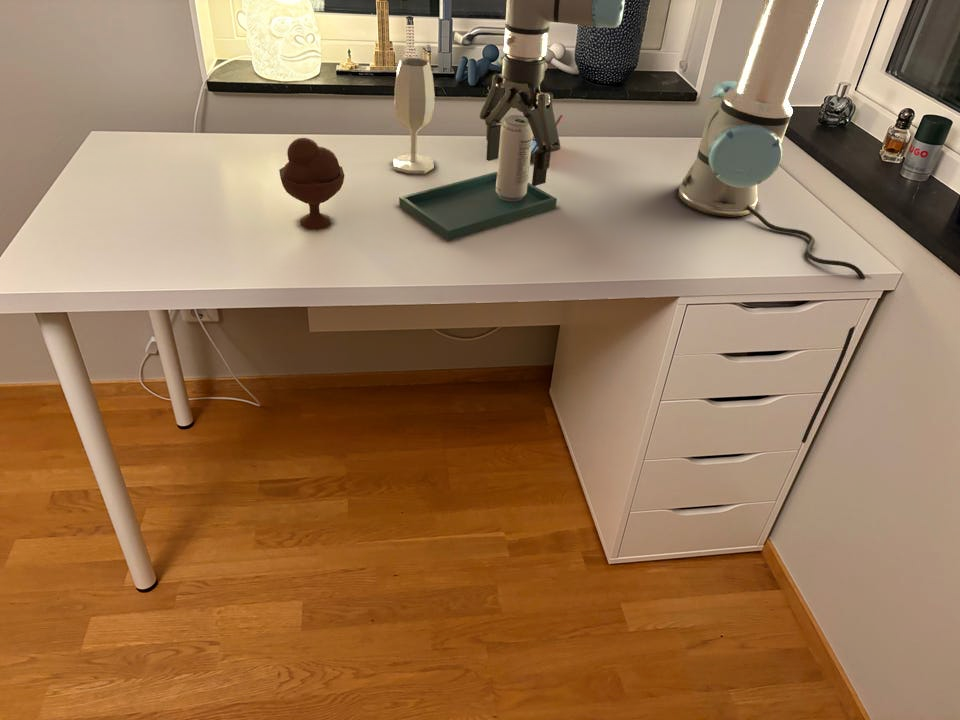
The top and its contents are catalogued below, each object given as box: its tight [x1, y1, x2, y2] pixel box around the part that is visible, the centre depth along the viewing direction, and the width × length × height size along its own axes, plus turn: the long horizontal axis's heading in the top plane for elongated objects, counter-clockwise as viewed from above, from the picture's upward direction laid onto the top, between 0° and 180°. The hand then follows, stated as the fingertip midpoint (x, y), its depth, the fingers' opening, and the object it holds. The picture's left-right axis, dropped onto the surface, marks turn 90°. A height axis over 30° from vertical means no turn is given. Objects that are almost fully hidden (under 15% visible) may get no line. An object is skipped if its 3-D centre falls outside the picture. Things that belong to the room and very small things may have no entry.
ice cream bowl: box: [278, 137, 345, 231], centre depth 130 cm, size 11×11×15 cm
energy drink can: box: [496, 114, 534, 201], centre depth 143 cm, size 6×6×15 cm
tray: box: [398, 171, 558, 242], centre depth 143 cm, size 16×26×2 cm, turn 128°
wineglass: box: [392, 57, 436, 175], centre depth 151 cm, size 9×9×21 cm
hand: (515, 171), depth 144 cm, fingers open, 13 cm apart
